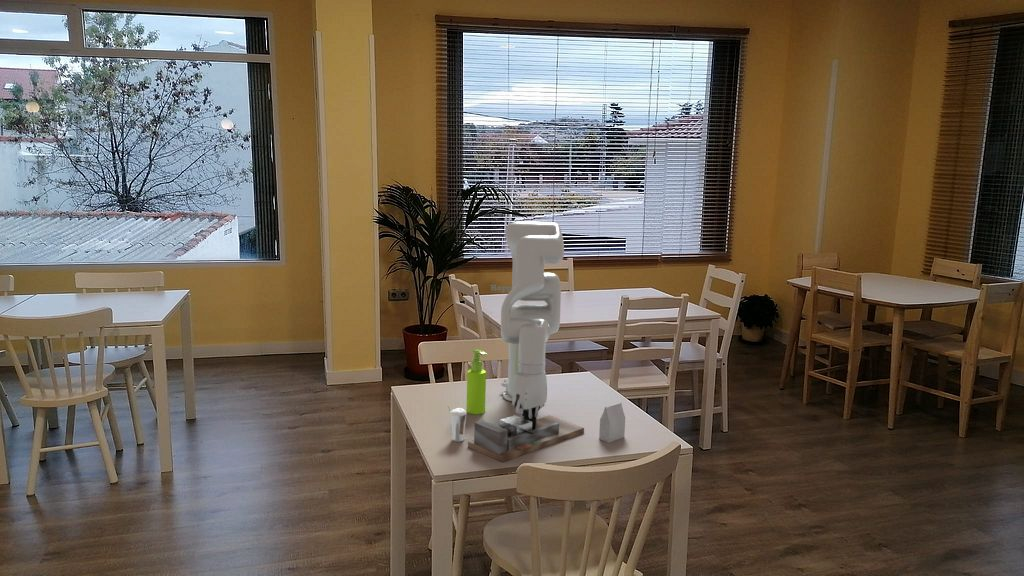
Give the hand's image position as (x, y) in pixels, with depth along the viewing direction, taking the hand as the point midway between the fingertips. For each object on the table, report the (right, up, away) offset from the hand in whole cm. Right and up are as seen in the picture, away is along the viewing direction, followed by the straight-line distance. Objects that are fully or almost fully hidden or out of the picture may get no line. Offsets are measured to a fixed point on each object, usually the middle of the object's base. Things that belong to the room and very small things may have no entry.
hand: (529, 429), depth 211 cm
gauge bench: (-1, -3, 0) cm, 3 cm away
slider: (-4, -2, -6) cm, 7 cm away
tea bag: (+24, -3, +3) cm, 24 cm away
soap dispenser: (-16, +1, +22) cm, 27 cm away
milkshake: (-21, -3, -1) cm, 21 cm away
